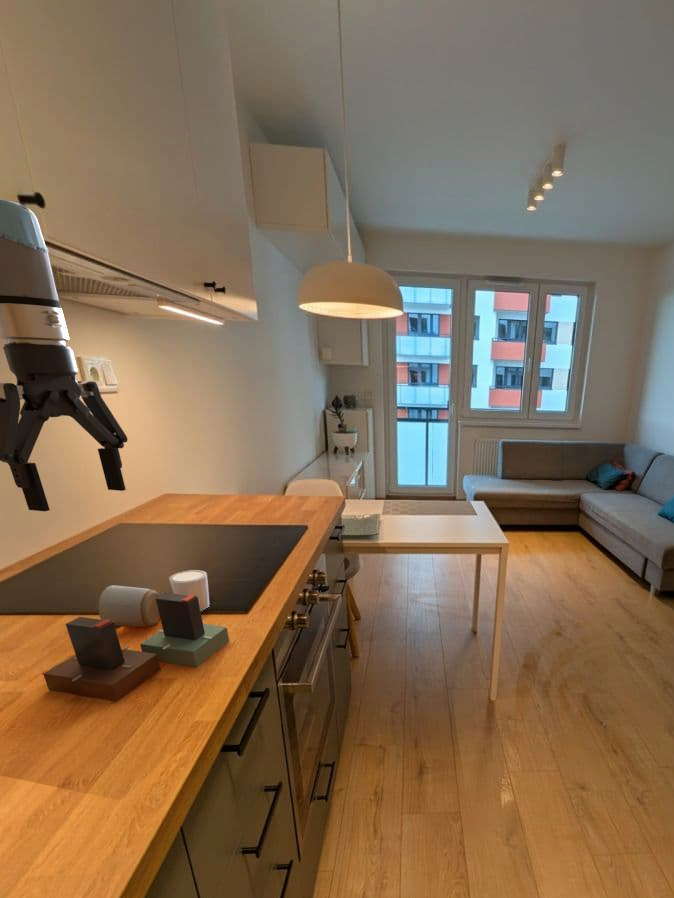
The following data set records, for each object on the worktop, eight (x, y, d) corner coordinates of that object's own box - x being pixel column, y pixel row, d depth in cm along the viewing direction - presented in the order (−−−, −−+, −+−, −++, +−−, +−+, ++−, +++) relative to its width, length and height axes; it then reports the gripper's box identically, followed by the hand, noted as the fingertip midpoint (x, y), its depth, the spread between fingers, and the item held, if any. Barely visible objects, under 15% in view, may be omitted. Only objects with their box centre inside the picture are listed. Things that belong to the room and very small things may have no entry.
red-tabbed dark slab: (78, 664, 77) (64, 622, 74) (92, 656, 80) (79, 615, 77) (112, 669, 76) (99, 627, 73) (125, 661, 79) (113, 619, 76)
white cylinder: (171, 606, 103) (164, 574, 100) (206, 597, 108) (200, 567, 105) (181, 618, 99) (174, 585, 96) (217, 608, 103) (211, 576, 100)
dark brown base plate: (45, 692, 76) (38, 674, 75) (101, 658, 85) (96, 641, 84) (113, 704, 74) (108, 686, 72) (163, 667, 83) (159, 651, 81)
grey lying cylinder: (149, 634, 93) (140, 595, 90) (103, 633, 92) (92, 594, 89) (175, 609, 102) (168, 574, 99) (134, 609, 102) (125, 573, 99)
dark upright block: (164, 635, 86) (155, 597, 83) (174, 629, 88) (165, 591, 85) (195, 640, 85) (187, 601, 82) (205, 633, 87) (197, 595, 84)
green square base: (140, 661, 84) (136, 644, 83) (182, 633, 93) (179, 617, 92) (194, 669, 83) (191, 652, 81) (232, 639, 92) (229, 624, 90)
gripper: (-41, 338, 56) (22, 523, 65) (132, 347, 79) (161, 484, 88) (-93, 337, 58) (-25, 518, 67) (91, 346, 80) (124, 481, 89)
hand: (81, 499), depth 77 cm, fingers open, 13 cm apart
